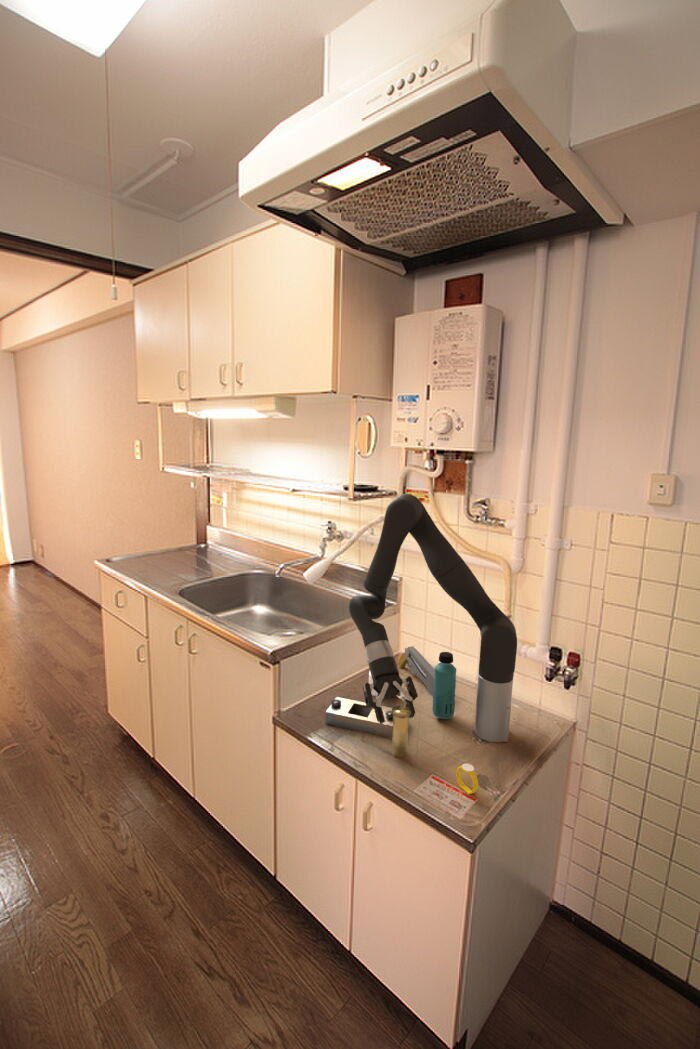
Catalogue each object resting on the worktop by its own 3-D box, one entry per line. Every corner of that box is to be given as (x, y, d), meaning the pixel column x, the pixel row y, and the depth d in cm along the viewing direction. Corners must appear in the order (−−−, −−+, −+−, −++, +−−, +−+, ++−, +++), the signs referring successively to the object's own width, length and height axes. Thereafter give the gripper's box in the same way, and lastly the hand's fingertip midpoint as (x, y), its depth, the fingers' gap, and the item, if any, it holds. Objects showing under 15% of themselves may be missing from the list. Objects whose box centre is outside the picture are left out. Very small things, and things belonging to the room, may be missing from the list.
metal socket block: (404, 722, 145) (405, 707, 144) (396, 739, 136) (397, 723, 135) (336, 707, 151) (336, 693, 151) (325, 723, 143) (325, 708, 142)
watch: (479, 796, 116) (482, 774, 114) (470, 800, 114) (473, 777, 113) (461, 779, 121) (464, 757, 119) (452, 783, 119) (455, 761, 118)
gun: (429, 719, 162) (441, 687, 155) (394, 663, 181) (404, 632, 174) (437, 717, 164) (450, 685, 156) (402, 662, 183) (412, 631, 175)
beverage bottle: (444, 726, 143) (448, 660, 140) (426, 716, 148) (430, 652, 145) (458, 719, 147) (463, 654, 144) (441, 709, 152) (444, 647, 149)
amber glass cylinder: (410, 749, 132) (412, 707, 130) (406, 760, 127) (408, 716, 125) (392, 745, 133) (394, 703, 131) (388, 755, 129) (389, 712, 127)
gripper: (361, 658, 134) (377, 720, 125) (409, 652, 139) (427, 711, 130) (353, 668, 140) (368, 728, 131) (399, 662, 145) (416, 719, 136)
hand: (397, 720), depth 131 cm, fingers open, 8 cm apart
